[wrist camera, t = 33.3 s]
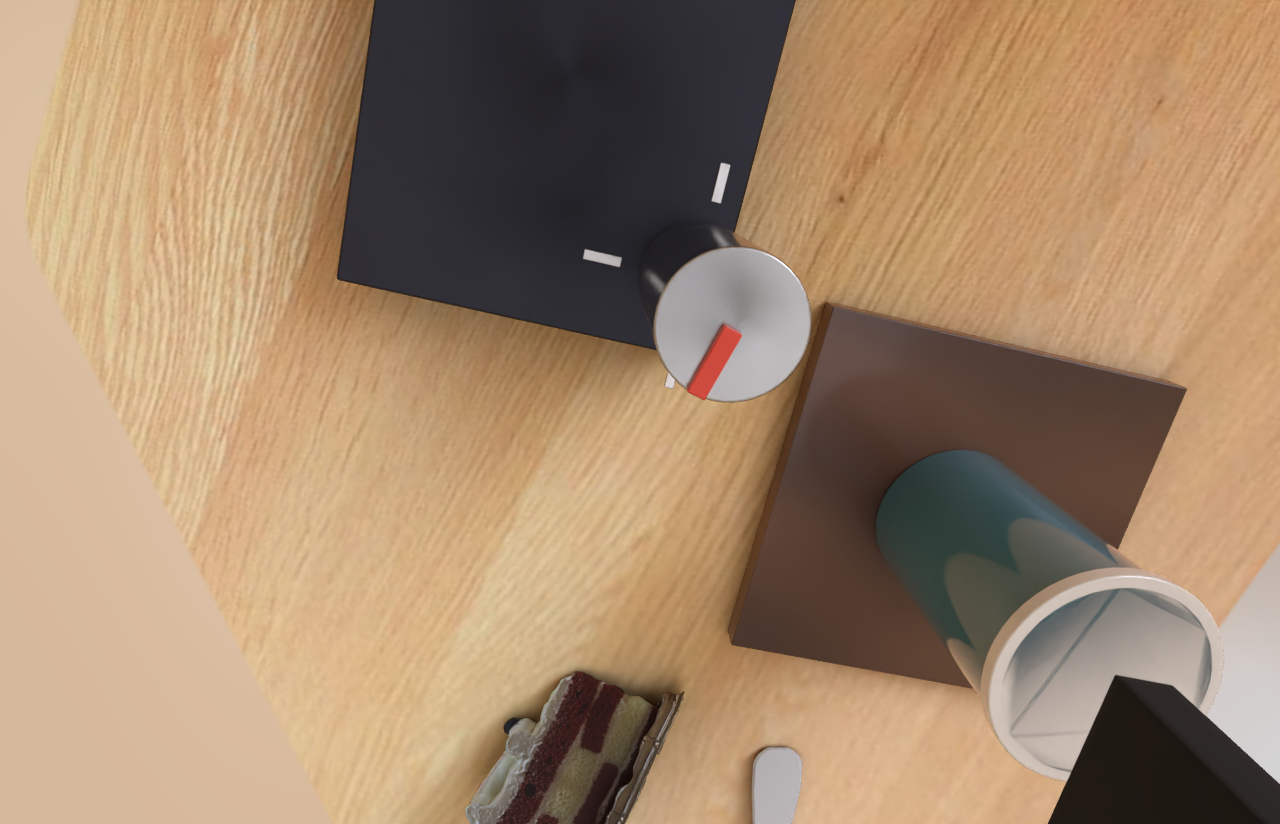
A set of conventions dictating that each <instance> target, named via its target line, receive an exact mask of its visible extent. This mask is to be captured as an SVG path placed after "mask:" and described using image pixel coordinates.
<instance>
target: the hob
mask: <svg viewBox="0 0 1280 824" xmlns="http://www.w3.org/2000/svg"><path fill="white" fill-rule="evenodd" d="M795 1H796V0H374V7H373V14H372V22H371V29H370V36H369V44H368V51H367V59H366V66H365V73H364V81H363V88H362V95H361V103H360V110H359V117H358V125H357V132H356V139H355V147H354V154H353V161H352V169H351V176H350V183H349V191H348V198H347V206H346V213H345V220H344V228H343V235H342V242H341V250H340V257H339V264H338V272H337V279H338V280H340V281H345V282H350V283H354V284H359V285H363V286H368V287H372V288H377V289H381V290H386V291H390V292H395V293H399V294H404V295H408V296H413V297H418V298H422V299H427V300H431V301H436V302H440V303H445V304H449V305H454V306H458V307H463V308H467V309H472V310H476V311H481V312H485V313H490V314H495V315H499V316H504V317H508V318H513V319H517V320H522V321H526V322H531V323H535V324H540V325H544V326H549V327H553V328H558V329H563V330H567V331H572V332H576V333H581V334H585V335H590V336H594V337H599V338H603V339H608V340H612V341H617V342H621V343H626V344H631V345H635V346H640V347H644V348H649V349H653V350H657V349H656V346H655V342H654V339H653V336H652V333H651V330H650V327H649V324H648V320H647V317H646V314H645V311H644V308H643V305H642V301H641V298H640V294H639V290H638V271H639V266H640V262H641V259H642V257H643V255H644V253H645V251H646V249H647V248H648V246H649V245H650V243H651V242H652V241H653V240H654V239H655V238H656V237H657V236H658V235H659V234H660V233H661V232H663V231H664V230H666V229H667V228H669V227H671V226H673V225H675V224H678V223H681V222H685V221H690V220H705V221H711V222H714V223H717V224H720V225H722V226H724V227H726V228H728V229H729V230H731V231H733V232H735V230H736V226H737V222H738V218H739V214H740V211H741V207H742V203H743V199H744V195H745V192H746V188H747V184H748V180H749V176H750V172H751V169H752V165H753V161H754V157H755V153H756V150H757V146H758V142H759V138H760V134H761V131H762V127H763V123H764V119H765V115H766V112H767V108H768V104H769V100H770V96H771V93H772V89H773V85H774V81H775V77H776V74H777V70H778V66H779V62H780V58H781V55H782V51H783V47H784V43H785V39H786V36H787V32H788V28H789V24H790V20H791V17H792V13H793V9H794V5H795ZM674 384H675V380H674V379H673V378H672V376H671V375H670V374H669V373H668V372H667V376H666V380H665V384H664V387H667V388H672V389H673V388H674Z"/></svg>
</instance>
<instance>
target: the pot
mask: <svg viewBox="0 0 1280 824" xmlns="http://www.w3.org/2000/svg"><path fill="white" fill-rule="evenodd" d="M876 541H877V546H878V549H879V552H880V554H881V556H882V558H883V561H884V562H885V564H886V565H887V566H888V568H889V569H890V571H891V572H892V574H893V575H894V576H895V578H896V579H897V581H898V582H899V583H900V585H901V586H902V588H903V589H904V591H905V592H906V593H907V595H908V596H909V598H910V599H911V600H912V602H913V603H914V605H915V606H916V608H917V609H918V610H919V612H920V613H921V615H922V616H923V617H924V619H925V620H926V622H927V623H928V625H929V626H930V627H931V629H932V630H933V632H934V633H935V634H936V636H937V637H938V639H939V640H940V642H941V643H942V644H943V646H944V647H945V649H946V650H947V651H948V653H949V654H950V656H951V657H952V659H953V660H954V661H955V663H956V664H957V666H958V667H959V668H960V670H961V671H962V673H963V674H964V676H965V677H966V678H967V680H968V681H969V683H970V684H971V685H972V687H973V688H974V690H975V691H976V693H977V694H978V695H979V697H980V698H981V700H982V707H983V710H984V714H985V717H986V720H987V722H988V724H989V726H990V728H991V730H992V732H993V733H994V734H995V736H996V737H997V739H998V740H999V742H1000V743H1001V745H1002V746H1003V747H1004V749H1005V750H1006V751H1007V752H1008V753H1009V754H1010V755H1011V756H1012V757H1013V758H1014V759H1015V760H1016V761H1018V762H1019V763H1020V764H1022V765H1023V766H1024V767H1026V768H1028V769H1030V770H1032V771H1034V772H1035V773H1038V774H1040V775H1043V776H1046V777H1048V778H1052V779H1056V780H1061V781H1067V780H1068V778H1069V776H1070V774H1071V771H1072V769H1073V767H1074V765H1075V762H1076V760H1077V758H1078V756H1079V754H1080V751H1081V749H1082V747H1083V745H1084V742H1085V740H1086V738H1087V736H1088V734H1089V731H1090V729H1091V727H1092V725H1093V722H1094V720H1095V718H1096V716H1097V714H1098V711H1099V709H1100V707H1101V705H1102V702H1103V700H1104V698H1105V696H1106V694H1107V691H1108V689H1109V687H1110V685H1111V682H1112V680H1113V678H1114V676H1115V675H1120V676H1125V677H1130V678H1136V679H1141V680H1146V681H1152V682H1157V683H1163V684H1168V685H1173V686H1174V687H1175V688H1176V689H1177V690H1178V691H1179V692H1180V693H1182V694H1183V695H1184V696H1185V697H1186V698H1187V699H1188V700H1189V701H1190V702H1191V703H1192V704H1193V705H1195V706H1196V707H1197V708H1198V709H1199V710H1200V711H1201V712H1202V713H1203V714H1204V715H1205V716H1206V715H1207V713H1208V711H1209V710H1210V708H1211V706H1212V704H1213V702H1214V700H1215V697H1216V695H1217V693H1218V690H1219V687H1220V683H1221V679H1222V674H1223V667H1224V650H1223V644H1222V639H1221V636H1220V633H1219V630H1218V627H1217V624H1216V623H1215V621H1214V619H1213V617H1212V616H1211V614H1210V612H1209V611H1208V610H1207V609H1206V607H1205V606H1204V605H1203V604H1202V602H1200V601H1199V600H1198V599H1197V598H1196V597H1195V596H1194V595H1192V594H1191V593H1190V592H1189V591H1187V590H1186V589H1185V588H1183V587H1182V586H1180V585H1179V584H1177V583H1176V582H1174V581H1172V580H1171V579H1169V578H1166V577H1164V576H1162V575H1160V574H1157V573H1154V572H1150V571H1146V570H1143V569H1142V568H1140V567H1139V566H1138V565H1136V564H1135V563H1134V562H1133V561H1131V560H1130V559H1129V558H1127V557H1126V556H1125V555H1123V554H1122V553H1121V552H1119V551H1118V550H1117V549H1116V548H1114V547H1113V546H1112V545H1110V544H1109V543H1108V542H1106V541H1105V540H1104V539H1102V538H1101V537H1100V536H1098V535H1097V534H1096V533H1095V532H1093V531H1092V530H1091V529H1089V528H1088V527H1087V526H1085V525H1084V524H1083V523H1081V522H1080V521H1079V520H1078V519H1076V518H1075V517H1074V516H1072V515H1071V514H1070V513H1068V512H1067V511H1066V510H1064V509H1063V508H1062V507H1061V506H1059V505H1058V504H1057V503H1055V502H1054V501H1053V500H1051V499H1050V498H1049V497H1047V496H1046V495H1045V494H1044V493H1042V492H1041V491H1040V490H1038V489H1037V488H1036V487H1034V486H1033V485H1032V484H1030V483H1029V482H1028V481H1026V480H1025V479H1024V478H1023V477H1021V476H1020V475H1019V474H1017V473H1016V472H1015V471H1013V470H1012V469H1011V468H1009V467H1008V466H1007V465H1006V464H1004V463H1003V462H1001V461H1000V460H998V459H996V458H994V457H992V456H990V455H988V454H985V453H981V452H977V451H971V450H953V451H946V452H941V453H937V454H934V455H932V456H929V457H926V458H924V459H922V460H920V461H918V462H917V463H915V464H914V465H912V466H911V467H909V468H908V469H907V470H905V471H904V472H903V473H902V474H901V475H900V476H899V477H898V478H897V479H896V480H895V481H894V482H893V484H892V485H891V486H890V488H889V489H888V491H887V492H886V494H885V496H884V498H883V500H882V502H881V505H880V507H879V511H878V514H877V519H876Z"/></svg>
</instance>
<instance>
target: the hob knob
mask: <svg viewBox="0 0 1280 824" xmlns="http://www.w3.org/2000/svg"><path fill="white" fill-rule="evenodd" d="M638 290H639V294H640V298H641V301H642V305H643V308H644V311H645V314H646V317H647V320H648V324H649V327H650V330H651V333H652V336H653V339H654V342H655V346H656V349H657V352H658V354H659V357H660V359H661V361H662V363H663V365H664V367H665V368H666V370H667V371H668V373H669V374H670V375H671V376H672V378H673V379H674V380H675V381H676V382H677V383H678V384H680V385H681V386H682V387H683V388H685V389H686V390H687V391H688V392H689V393H691V394H693V395H695V396H697V397H699V398H700V399H702V400H705V399H708V400H711V401H716V402H727V403H734V402H743V401H747V400H752V399H755V398H757V397H760V396H763V395H765V394H766V393H768V392H770V391H772V390H773V389H775V388H776V387H778V386H779V385H781V384H782V383H783V382H784V381H785V380H786V379H787V378H788V377H789V376H790V375H791V374H792V373H793V372H794V370H795V369H796V368H797V366H798V365H799V363H800V362H801V360H802V358H803V356H804V354H805V351H806V349H807V346H808V343H809V339H810V334H811V325H812V318H811V308H810V303H809V299H808V296H807V293H806V291H805V289H804V287H803V285H802V283H801V281H800V280H799V278H798V277H797V275H796V274H795V273H794V272H793V271H792V270H791V268H790V267H788V266H787V265H786V264H785V263H784V262H783V261H781V260H780V259H778V258H777V257H775V256H774V255H772V254H770V253H769V252H767V251H765V250H763V249H762V248H760V247H758V246H757V245H755V244H753V243H752V242H750V241H748V240H746V239H745V238H743V237H741V236H740V235H738V234H736V233H735V232H733V231H731V230H729V229H728V228H726V227H724V226H722V225H720V224H717V223H714V222H711V221H705V220H690V221H685V222H681V223H678V224H675V225H673V226H671V227H669V228H667V229H666V230H664V231H663V232H661V233H660V234H659V235H658V236H657V237H656V238H655V239H654V240H653V241H652V242H651V243H650V245H649V246H648V248H647V249H646V251H645V253H644V255H643V257H642V259H641V262H640V266H639V271H638Z"/></svg>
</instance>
